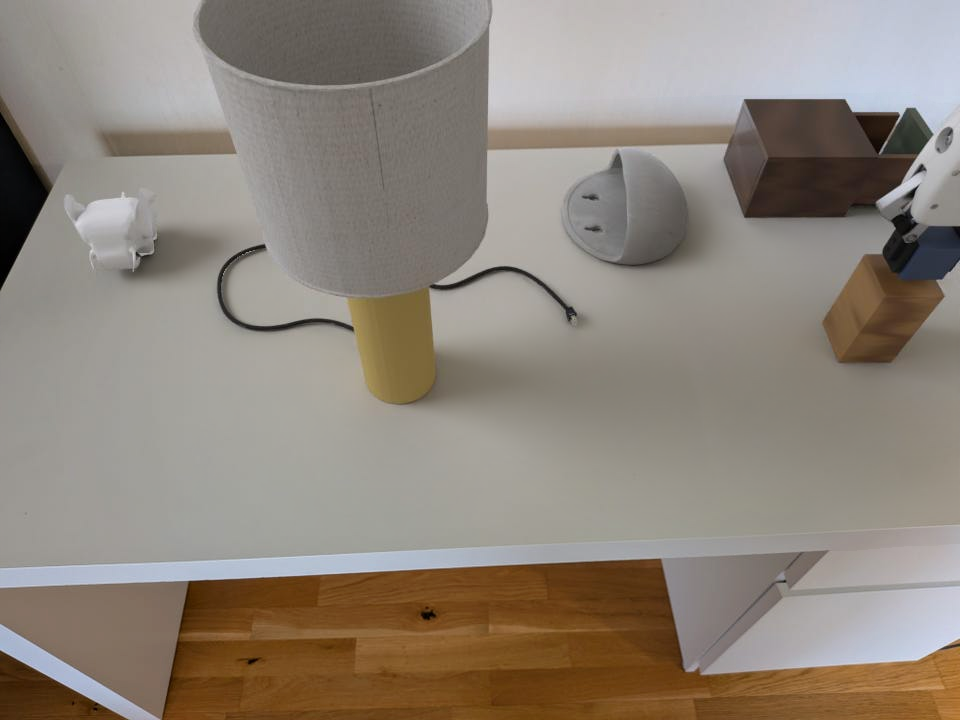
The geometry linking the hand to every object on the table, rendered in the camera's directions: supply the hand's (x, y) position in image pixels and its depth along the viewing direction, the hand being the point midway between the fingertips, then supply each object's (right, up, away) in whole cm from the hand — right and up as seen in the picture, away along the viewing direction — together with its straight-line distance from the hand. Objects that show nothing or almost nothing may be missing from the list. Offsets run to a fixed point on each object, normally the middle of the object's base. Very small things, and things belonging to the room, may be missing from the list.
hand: (915, 261), depth 68 cm
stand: (0, -8, +10) cm, 13 cm away
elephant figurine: (-88, +4, +18) cm, 90 cm away
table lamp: (-53, -6, +12) cm, 55 cm away
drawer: (+11, +15, +26) cm, 32 cm away
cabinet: (-2, +14, +27) cm, 30 cm away
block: (0, 0, 0) cm, 1 cm away
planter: (-25, +9, +23) cm, 35 cm away
